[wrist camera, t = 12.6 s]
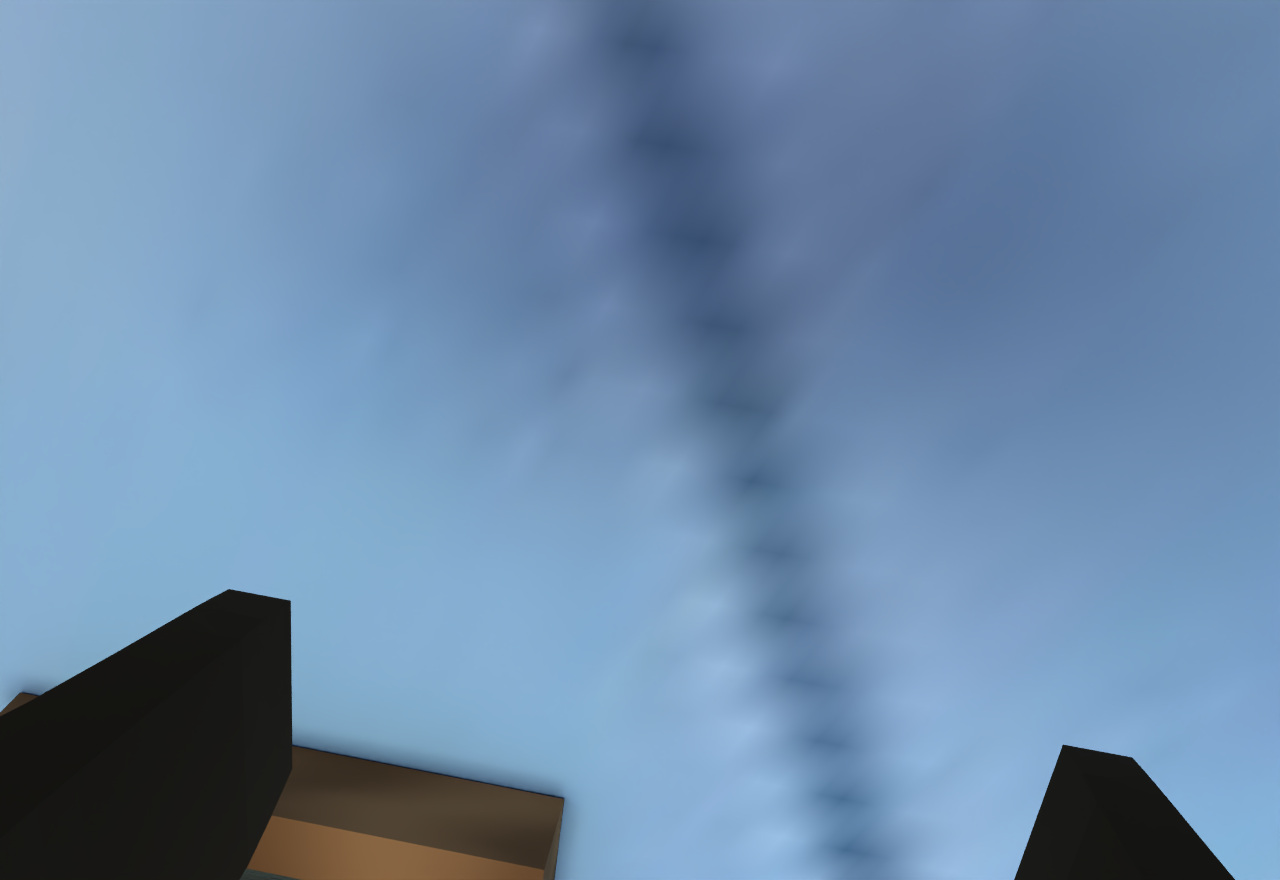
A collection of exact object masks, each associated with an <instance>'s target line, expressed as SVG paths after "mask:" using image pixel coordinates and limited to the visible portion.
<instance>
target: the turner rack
mask: <svg viewBox="0 0 1280 880" xmlns="http://www.w3.org/2000/svg"><path fill="white" fill-rule="evenodd" d="M36 697H38V696H35V695H29V694H24V693H19V694H18V695H17V696H16V697H15V698H14V699H13V700H12V701H11V702H10V703H9V704H8V705H7V706H6V707H5V708H4V709H3V710H2V711H1V712H0V716H2V715H4V714H6V713H7V712H9V711H11V710H13V709H15V708H17V707H19V706H21V705H23V704H25V703H27V702H29V701H31V700H33V699H35V698H36ZM563 805H564V799H561V798H556V797H551V796H546V795H541V794H536V793H531V792H525V791H520V790H515V789H510V788H505V787H500V786H495V785H490V784H485V783H479V782H474V781H469V780H464V779H459V778H454V777H449V776H444V775H438V774H433V773H428V772H423V771H418V770H413V769H408V768H403V767H398V766H392V765H387V764H382V763H377V762H372V761H367V760H362V759H357V758H352V757H346V756H341V755H336V754H331V753H326V752H321V751H316V750H311V749H306V748H300V747H295V746H292V771H291V773H290V775H289V778H288V780H287V782H286V784H285V787H284V789H283V791H282V793H281V796H280V798H279V800H278V802H277V805H276V807H275V809H274V811H273V814H272V816H271V818H270V820H269V823H268V825H267V827H266V829H265V831H264V833H263V835H262V837H261V839H260V842H259V844H258V846H257V848H256V850H255V852H254V854H253V856H252V858H251V861H250V863H249V865H248V866H247V869H252V870H257V871H262V872H267V873H272V874H277V875H281V876H286V877H291V878H296V879H301V880H554V877H555V869H556V861H557V853H558V845H559V837H560V829H561V821H562V813H563Z"/></svg>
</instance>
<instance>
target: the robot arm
mask: <svg viewBox="0 0 1280 880" xmlns="http://www.w3.org/2000/svg"><path fill="white" fill-rule="evenodd" d="M291 771H292V686H291V601H289V600H284V599H279V598H273V597H268V596H263V595H257V594H252V593H246V592H241V591H236V590H230V589H228V590H226V591H225V592H223V593H221V594H219V595H217V596H215V597H213V598H211V599H209V600H207V601H206V602H204V603H202V604H200V605H198V606H196V607H195V608H193V609H191V610H189V611H188V612H186V613H184V614H182V615H181V616H179V617H177V618H175V619H174V620H172V621H170V622H168V623H167V624H165V625H163V626H162V627H160V628H158V629H156V630H155V631H153V632H151V633H149V634H148V635H146V636H144V637H143V638H141V639H139V640H137V641H136V642H134V643H132V644H130V645H129V646H127V647H125V648H124V649H122V650H120V651H118V652H117V653H115V654H113V655H111V656H109V657H108V658H106V659H104V660H102V661H101V662H99V663H97V664H95V665H93V666H92V667H90V668H88V669H86V670H85V671H83V672H81V673H79V674H77V675H76V676H74V677H72V678H70V679H69V680H67V681H65V682H63V683H61V684H60V685H58V686H56V687H54V688H53V689H51V690H49V691H47V692H45V693H44V694H42V695H40V696H38V697H36V698H35V699H33V700H31V701H29V702H27V703H25V704H23V705H21V706H19V707H17V708H15V709H13V710H11V711H9V712H7V713H6V714H4V715H2V716H0V880H240V878H241V876H242V875H243V873H244V871H245V870H246V868H247V866H248V865H249V863H250V861H251V858H252V856H253V854H254V852H255V850H256V848H257V846H258V844H259V842H260V839H261V837H262V835H263V833H264V831H265V829H266V827H267V825H268V823H269V820H270V818H271V816H272V814H273V811H274V809H275V807H276V805H277V802H278V800H279V798H280V796H281V793H282V791H283V789H284V787H285V784H286V782H287V780H288V778H289V775H290V773H291ZM1014 880H1235V879H1234V878H1233V877H1232V875H1231V874H1230V873H1229V872H1228V871H1227V869H1226V868H1225V867H1224V866H1223V865H1222V863H1221V862H1220V861H1219V860H1218V859H1217V857H1216V856H1215V855H1214V854H1213V853H1212V851H1211V850H1210V849H1209V848H1208V847H1207V845H1206V844H1205V843H1204V842H1203V841H1202V839H1201V838H1200V837H1199V836H1198V835H1197V833H1196V832H1195V831H1194V830H1193V829H1192V827H1191V826H1190V825H1189V824H1188V822H1187V821H1186V820H1185V819H1184V818H1183V816H1182V815H1181V814H1180V813H1179V812H1178V810H1177V809H1176V808H1175V807H1174V806H1173V804H1172V803H1171V802H1170V801H1169V800H1168V798H1167V797H1166V796H1165V795H1164V794H1163V792H1162V791H1161V790H1160V789H1159V788H1158V786H1157V785H1156V784H1155V783H1154V782H1153V781H1152V779H1151V778H1150V777H1149V776H1148V775H1147V774H1146V772H1145V771H1144V770H1143V769H1142V768H1141V767H1140V766H1139V765H1138V763H1137V762H1136V761H1135V760H1134V759H1133V758H1132V757H1127V756H1121V755H1116V754H1110V753H1105V752H1100V751H1094V750H1089V749H1084V748H1078V747H1073V746H1068V745H1063V746H1062V749H1061V752H1060V754H1059V757H1058V760H1057V763H1056V766H1055V768H1054V771H1053V774H1052V777H1051V779H1050V782H1049V785H1048V788H1047V790H1046V793H1045V796H1044V799H1043V802H1042V804H1041V807H1040V810H1039V813H1038V815H1037V818H1036V821H1035V824H1034V827H1033V829H1032V832H1031V835H1030V838H1029V840H1028V843H1027V846H1026V849H1025V851H1024V854H1023V857H1022V860H1021V863H1020V865H1019V868H1018V871H1017V874H1016V876H1015V879H1014Z"/></svg>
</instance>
